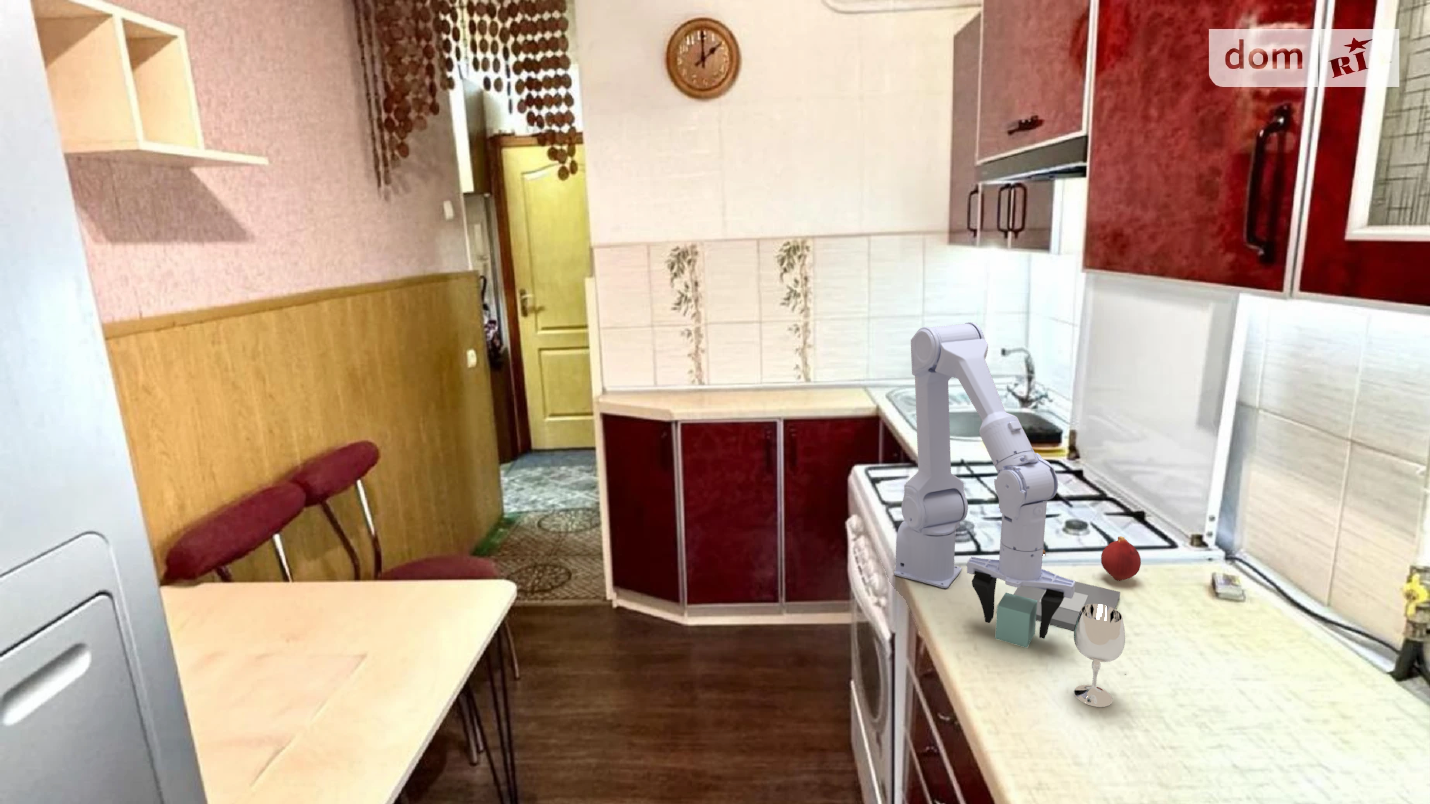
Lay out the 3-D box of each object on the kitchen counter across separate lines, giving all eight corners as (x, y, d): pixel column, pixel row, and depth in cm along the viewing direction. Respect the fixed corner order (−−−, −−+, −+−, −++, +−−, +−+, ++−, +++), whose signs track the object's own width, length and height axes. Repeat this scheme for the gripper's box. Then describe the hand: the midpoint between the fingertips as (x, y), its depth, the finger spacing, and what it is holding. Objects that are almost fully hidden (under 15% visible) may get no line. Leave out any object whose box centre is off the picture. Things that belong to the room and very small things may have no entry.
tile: (1005, 612, 116) (1005, 605, 116) (1028, 575, 127) (1028, 569, 127) (1104, 638, 108) (1105, 632, 108) (1119, 597, 119) (1120, 591, 119)
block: (995, 638, 109) (997, 605, 108) (1003, 624, 113) (1005, 592, 111) (1027, 648, 107) (1029, 614, 105) (1034, 633, 110) (1037, 600, 109)
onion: (1129, 572, 127) (1134, 529, 125) (1144, 589, 121) (1150, 544, 119) (1093, 572, 127) (1097, 529, 125) (1107, 588, 122) (1112, 544, 120)
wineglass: (1114, 686, 98) (1123, 604, 95) (1121, 714, 92) (1131, 628, 89) (1066, 679, 99) (1073, 599, 96) (1071, 706, 94) (1078, 621, 91)
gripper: (961, 541, 107) (957, 625, 110) (1070, 566, 99) (1062, 655, 102) (976, 524, 113) (972, 604, 116) (1081, 546, 104) (1073, 632, 108)
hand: (1015, 627), depth 109 cm, fingers open, 7 cm apart
